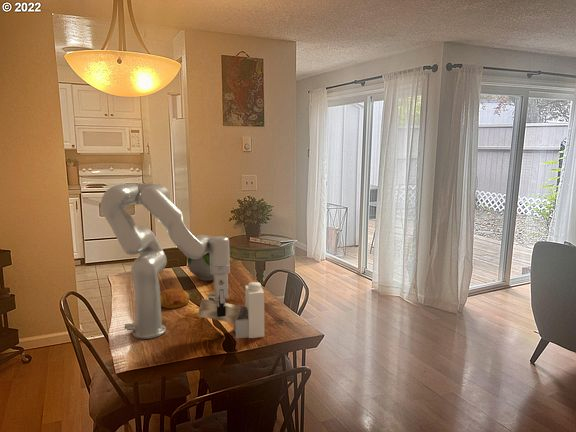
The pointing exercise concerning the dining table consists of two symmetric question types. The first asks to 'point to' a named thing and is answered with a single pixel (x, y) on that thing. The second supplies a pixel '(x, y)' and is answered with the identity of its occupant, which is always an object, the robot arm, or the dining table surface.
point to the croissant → (174, 298)
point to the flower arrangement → (200, 267)
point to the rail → (232, 311)
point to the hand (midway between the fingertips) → (221, 313)
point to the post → (252, 313)
